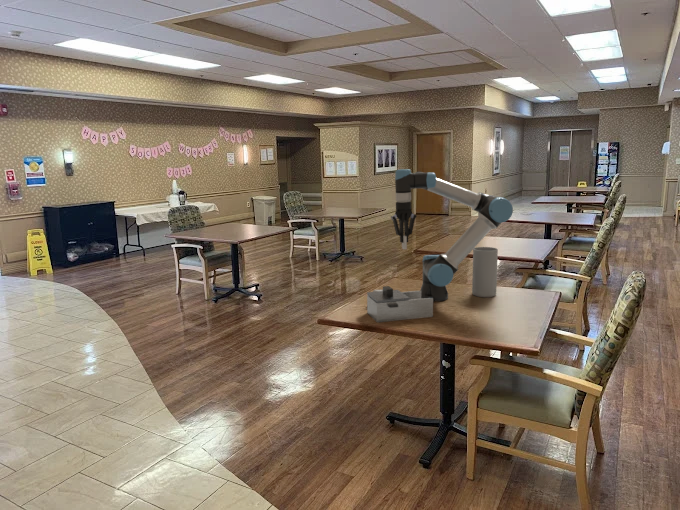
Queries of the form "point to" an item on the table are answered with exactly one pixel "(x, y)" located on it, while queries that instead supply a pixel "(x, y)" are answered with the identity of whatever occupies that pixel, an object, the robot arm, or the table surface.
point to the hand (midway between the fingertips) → (404, 248)
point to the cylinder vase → (484, 271)
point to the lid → (387, 295)
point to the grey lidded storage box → (401, 308)
